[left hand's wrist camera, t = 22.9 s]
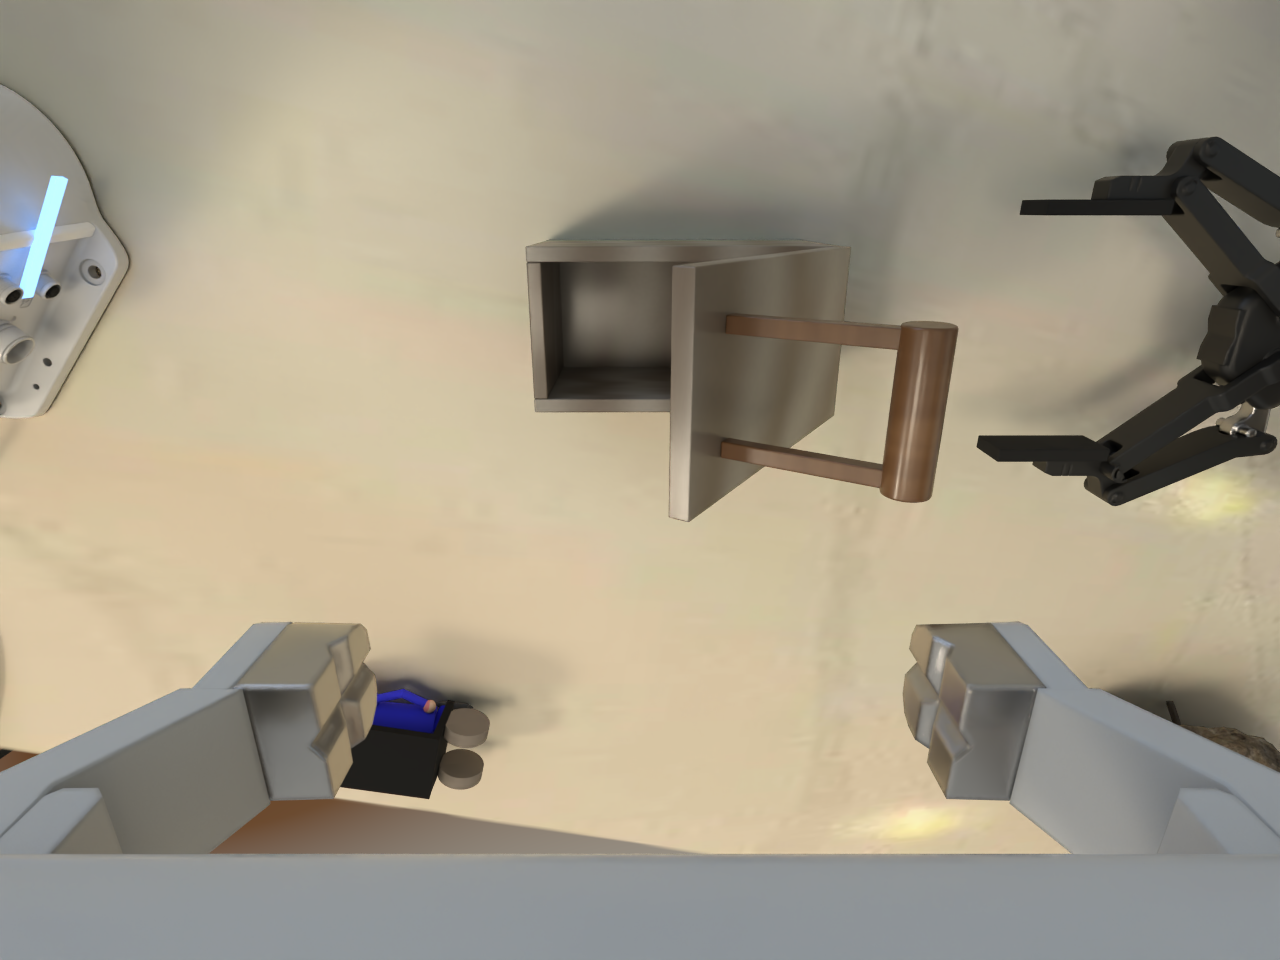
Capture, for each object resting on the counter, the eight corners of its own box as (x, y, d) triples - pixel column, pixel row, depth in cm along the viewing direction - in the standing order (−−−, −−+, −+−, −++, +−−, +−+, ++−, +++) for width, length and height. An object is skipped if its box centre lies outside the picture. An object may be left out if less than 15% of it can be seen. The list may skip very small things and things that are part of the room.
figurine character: (496, 679, 61) (316, 661, 59) (489, 741, 54) (284, 724, 52) (486, 739, 64) (313, 724, 61) (477, 805, 57) (281, 792, 54)
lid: (668, 517, 27) (905, 576, 22) (671, 265, 24) (951, 277, 19) (819, 413, 41) (983, 437, 37) (834, 246, 38) (1017, 250, 33)
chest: (554, 376, 51) (534, 412, 41) (548, 240, 47) (525, 246, 38) (790, 375, 51) (824, 412, 41) (800, 239, 47) (840, 245, 38)
